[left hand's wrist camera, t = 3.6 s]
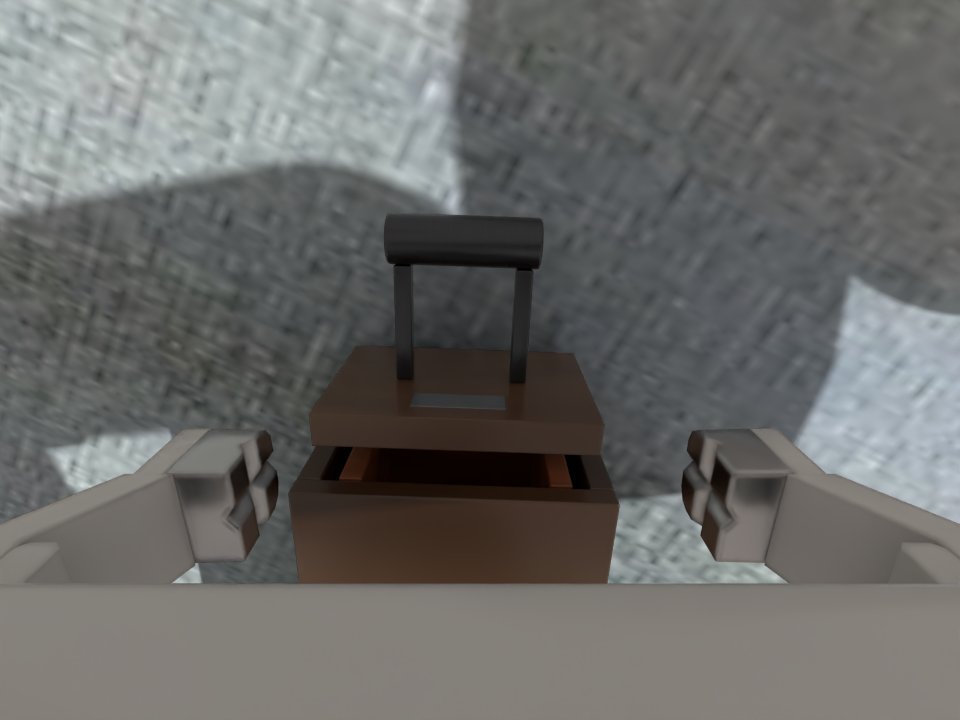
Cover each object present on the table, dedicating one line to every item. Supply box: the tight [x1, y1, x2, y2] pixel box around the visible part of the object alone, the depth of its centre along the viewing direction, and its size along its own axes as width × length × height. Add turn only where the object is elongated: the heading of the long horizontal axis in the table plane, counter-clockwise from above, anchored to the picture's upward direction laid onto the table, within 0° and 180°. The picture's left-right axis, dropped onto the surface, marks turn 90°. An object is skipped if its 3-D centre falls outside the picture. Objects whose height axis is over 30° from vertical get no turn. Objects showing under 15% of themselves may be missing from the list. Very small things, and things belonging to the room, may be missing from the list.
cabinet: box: [288, 446, 620, 584], centre depth 24 cm, size 19×11×8 cm, turn 178°
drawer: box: [309, 213, 604, 489], centre depth 22 cm, size 24×10×6 cm, turn 178°
